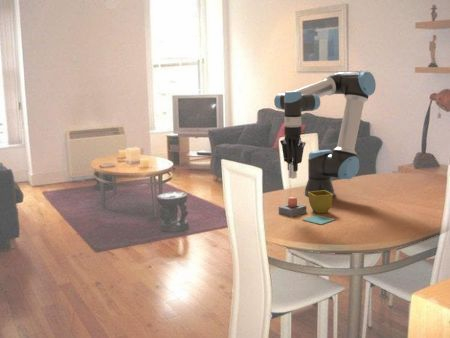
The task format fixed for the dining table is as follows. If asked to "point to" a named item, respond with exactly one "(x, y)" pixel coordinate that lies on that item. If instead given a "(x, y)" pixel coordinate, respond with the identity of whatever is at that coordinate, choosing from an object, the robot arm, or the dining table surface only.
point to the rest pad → (318, 219)
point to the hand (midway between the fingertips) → (292, 177)
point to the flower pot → (320, 201)
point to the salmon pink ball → (292, 202)
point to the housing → (292, 210)
